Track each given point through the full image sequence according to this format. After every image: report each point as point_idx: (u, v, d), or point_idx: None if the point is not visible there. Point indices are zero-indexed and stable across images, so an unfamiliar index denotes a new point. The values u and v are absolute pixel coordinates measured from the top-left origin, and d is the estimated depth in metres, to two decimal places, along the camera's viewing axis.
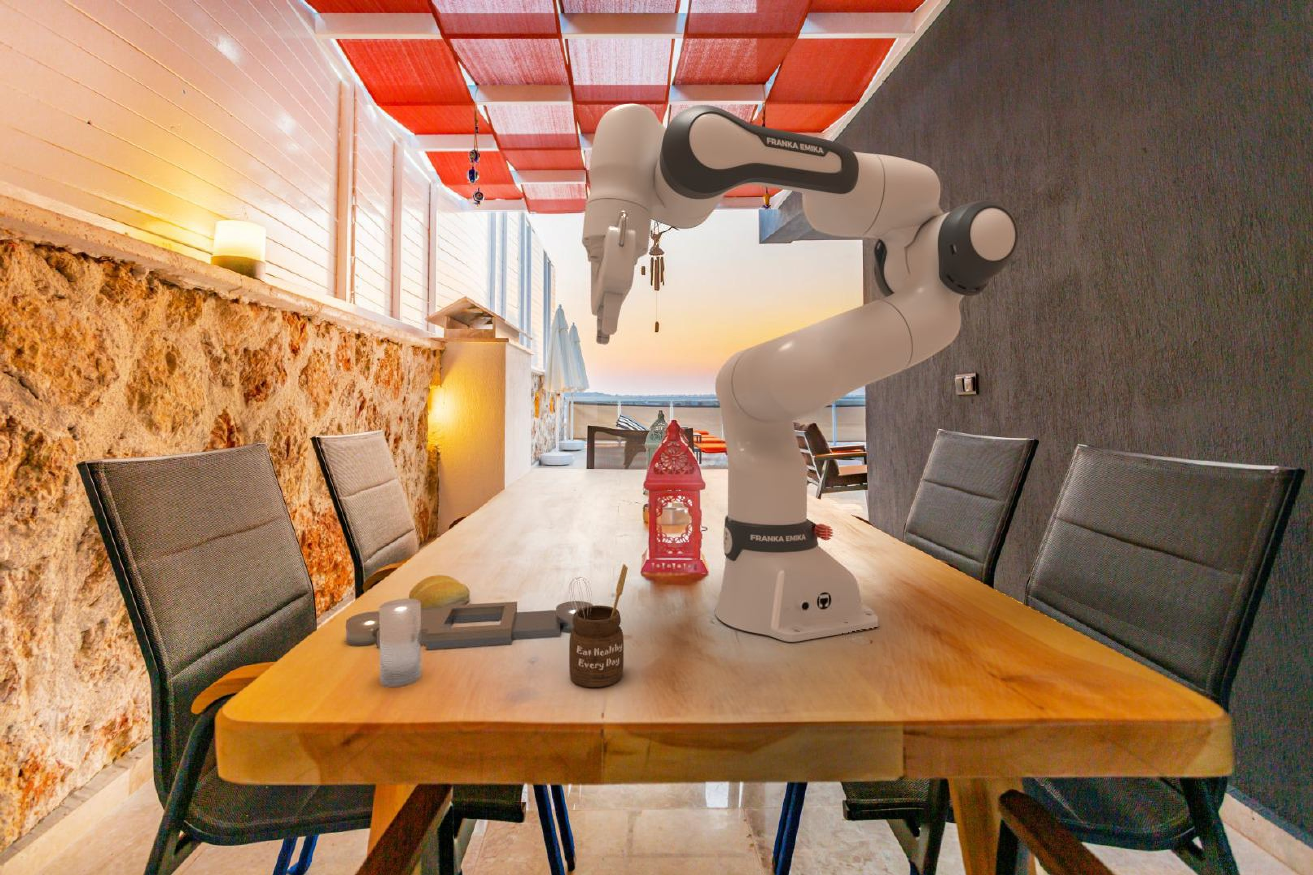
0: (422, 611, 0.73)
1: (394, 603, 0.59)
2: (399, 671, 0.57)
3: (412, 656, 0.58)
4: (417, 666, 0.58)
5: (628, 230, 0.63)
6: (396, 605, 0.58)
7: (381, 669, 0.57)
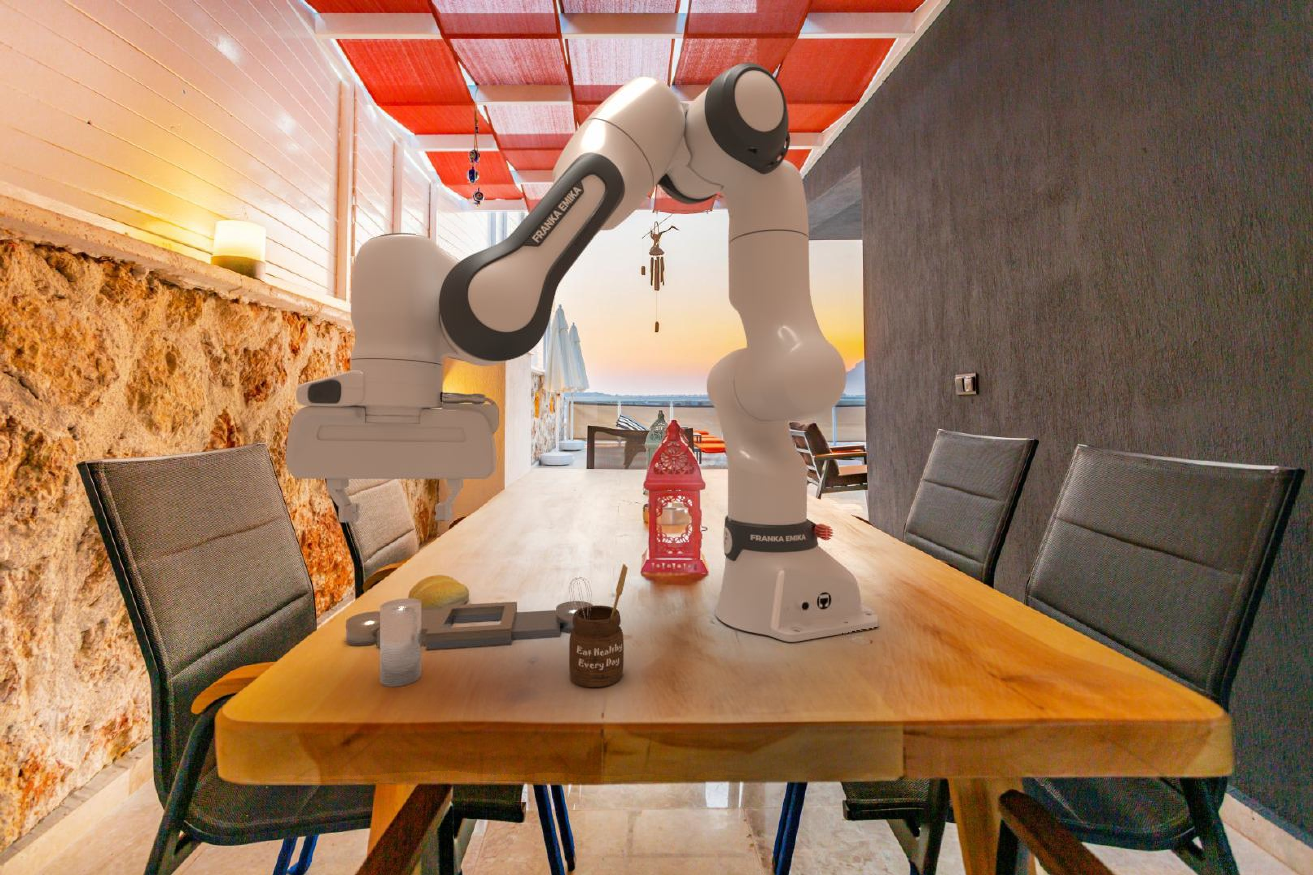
0: (422, 611, 0.73)
1: (395, 603, 0.59)
2: (399, 671, 0.57)
3: (413, 655, 0.58)
4: (417, 666, 0.58)
5: None
6: (396, 604, 0.58)
7: (381, 669, 0.57)
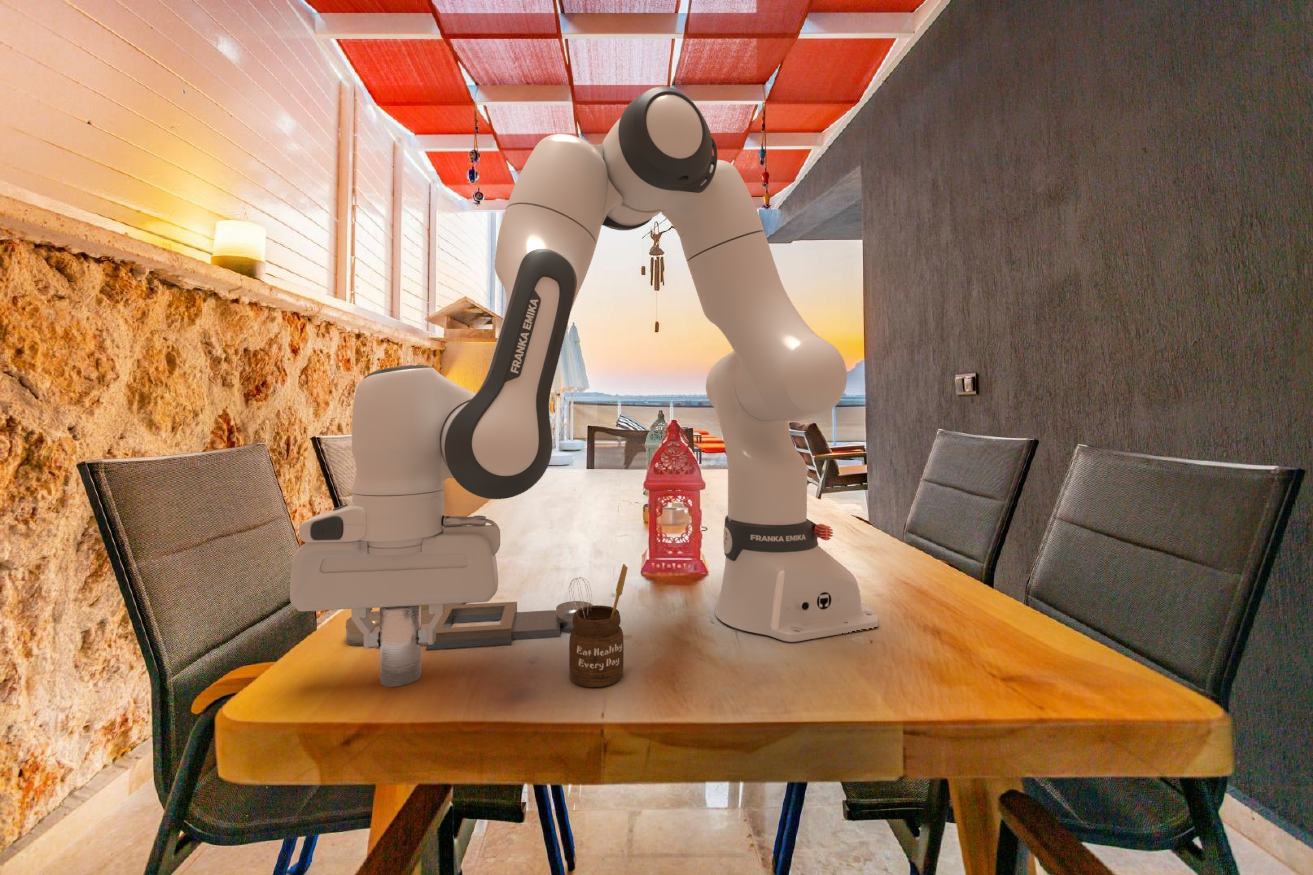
0: (422, 611, 0.73)
1: None
2: (398, 671, 0.57)
3: (412, 656, 0.57)
4: (416, 666, 0.58)
5: None
6: None
7: (381, 669, 0.57)
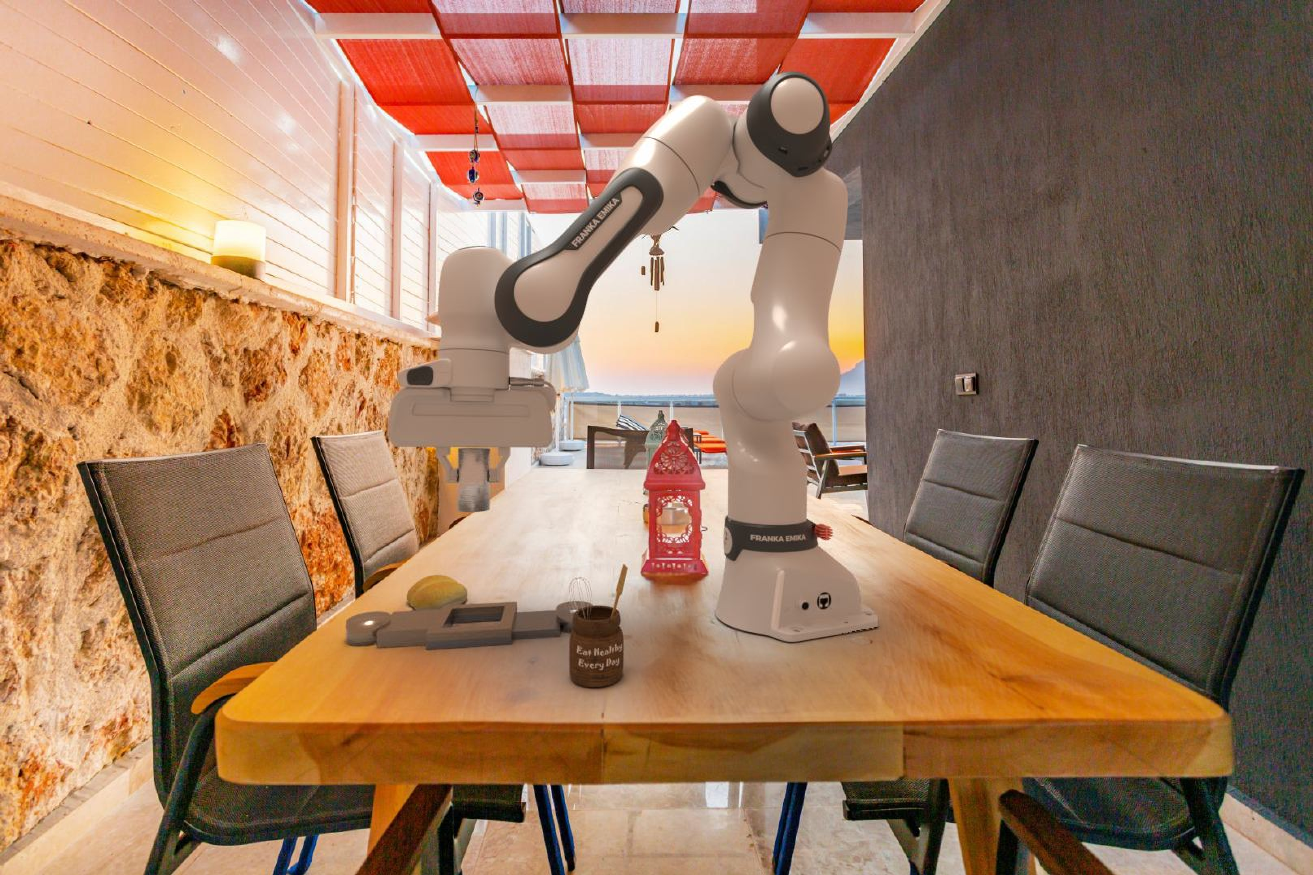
0: (422, 611, 0.73)
1: (469, 448, 0.71)
2: (474, 499, 0.69)
3: (484, 489, 0.70)
4: (487, 499, 0.70)
5: None
6: (470, 448, 0.70)
7: (459, 498, 0.69)
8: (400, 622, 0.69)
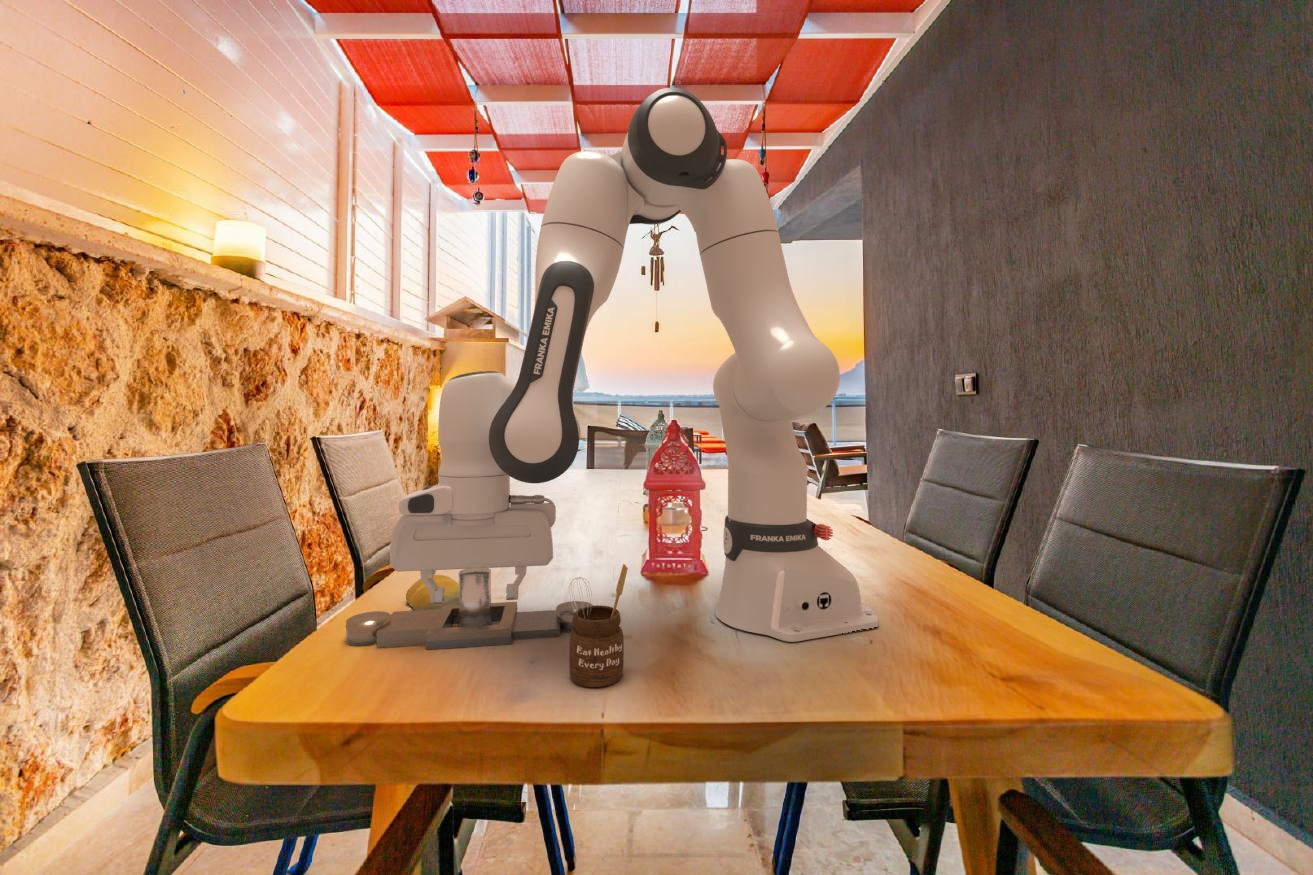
0: (422, 611, 0.73)
1: (469, 570, 0.72)
2: (475, 624, 0.70)
3: (485, 612, 0.70)
4: (488, 622, 0.71)
5: None
6: (471, 571, 0.71)
7: (460, 623, 0.70)
8: (400, 622, 0.69)
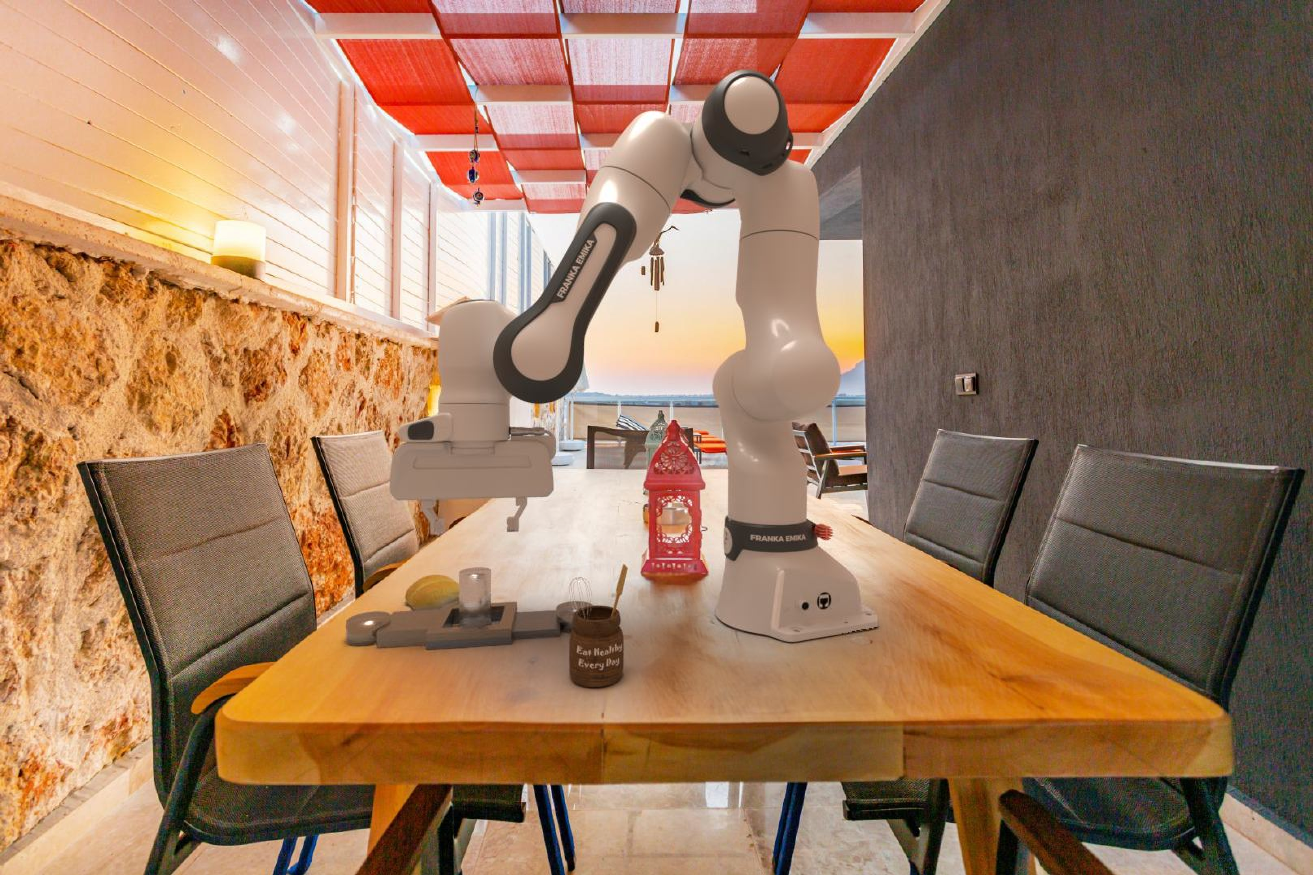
0: (422, 611, 0.73)
1: (470, 570, 0.72)
2: (475, 624, 0.70)
3: (486, 612, 0.70)
4: (488, 622, 0.71)
5: None
6: (471, 571, 0.71)
7: (460, 623, 0.70)
8: (400, 622, 0.69)
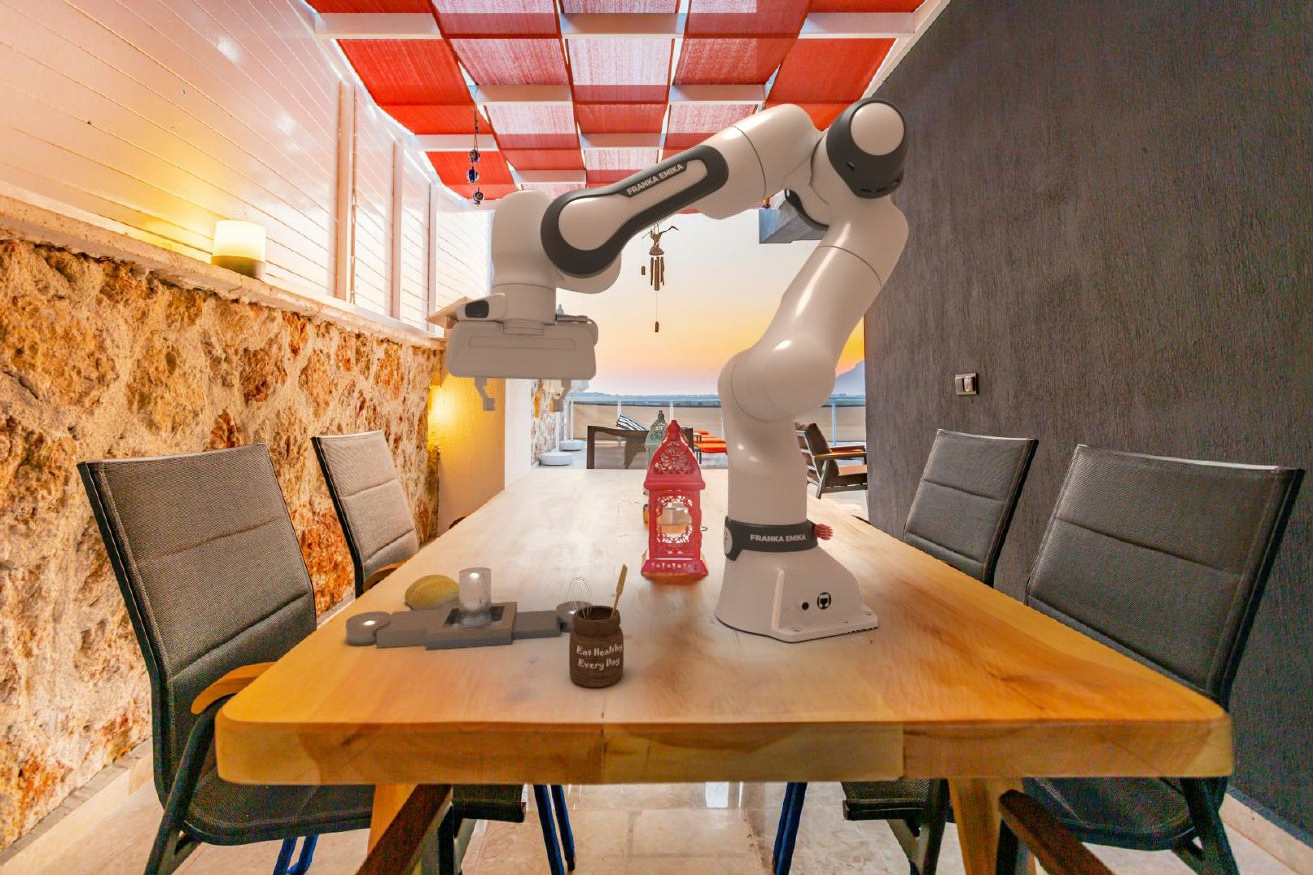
0: (422, 611, 0.73)
1: (470, 570, 0.72)
2: (475, 624, 0.70)
3: (486, 612, 0.70)
4: (488, 622, 0.71)
5: None
6: (471, 571, 0.71)
7: (460, 623, 0.70)
8: (400, 622, 0.69)
